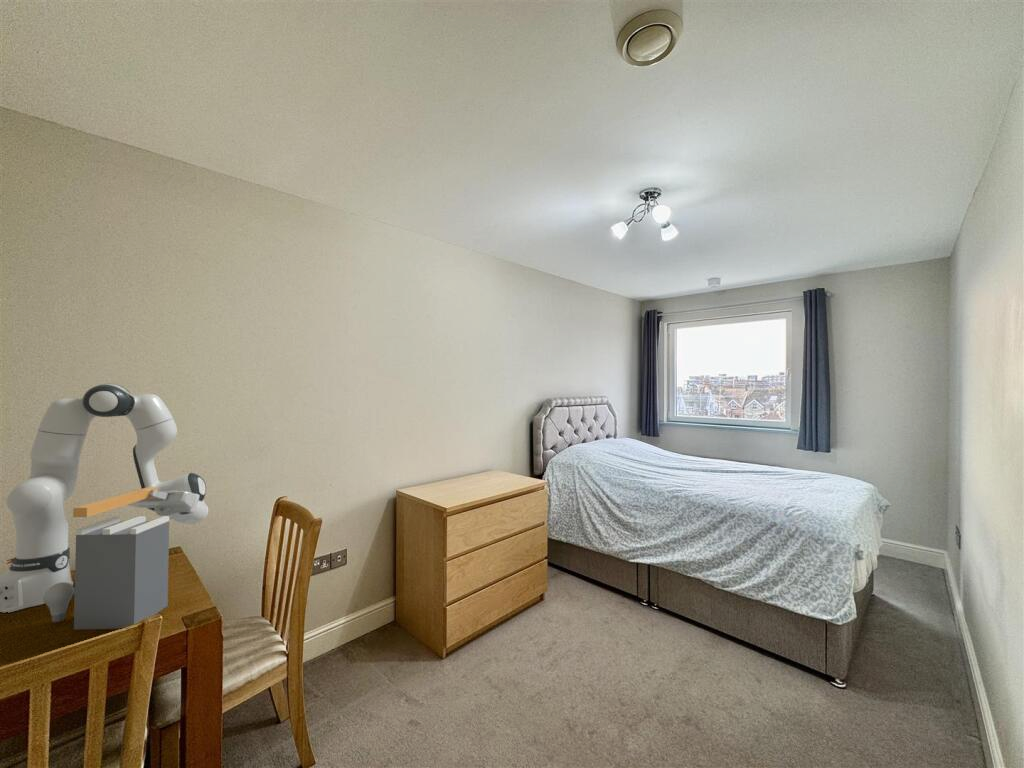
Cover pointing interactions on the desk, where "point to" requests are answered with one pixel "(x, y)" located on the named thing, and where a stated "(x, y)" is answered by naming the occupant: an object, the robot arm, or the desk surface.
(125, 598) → the block
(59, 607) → the lightbulb
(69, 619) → the desk surface
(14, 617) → the desk surface
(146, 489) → the orange flat bar
